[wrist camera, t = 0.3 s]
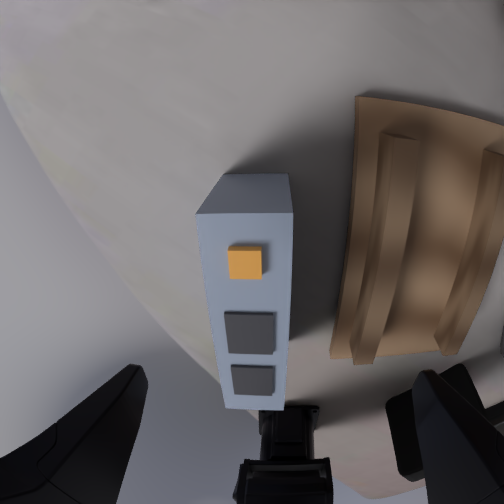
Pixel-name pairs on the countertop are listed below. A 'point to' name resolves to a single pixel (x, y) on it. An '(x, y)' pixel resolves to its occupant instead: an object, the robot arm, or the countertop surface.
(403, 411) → the electronic device
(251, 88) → the countertop surface
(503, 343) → the liquor
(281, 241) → the power strip
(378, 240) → the dock
